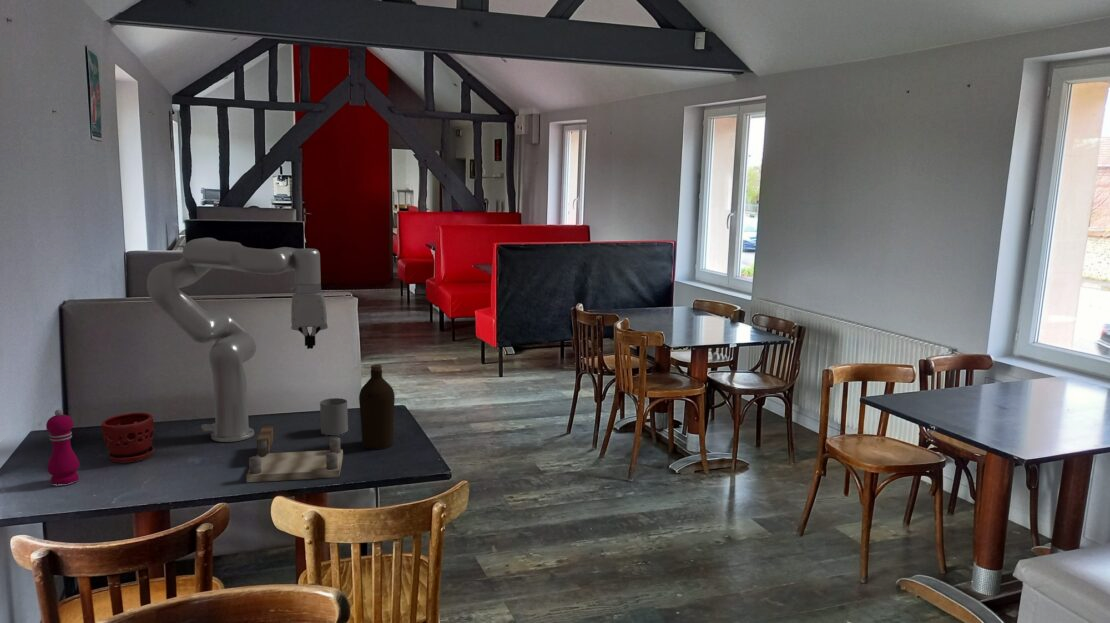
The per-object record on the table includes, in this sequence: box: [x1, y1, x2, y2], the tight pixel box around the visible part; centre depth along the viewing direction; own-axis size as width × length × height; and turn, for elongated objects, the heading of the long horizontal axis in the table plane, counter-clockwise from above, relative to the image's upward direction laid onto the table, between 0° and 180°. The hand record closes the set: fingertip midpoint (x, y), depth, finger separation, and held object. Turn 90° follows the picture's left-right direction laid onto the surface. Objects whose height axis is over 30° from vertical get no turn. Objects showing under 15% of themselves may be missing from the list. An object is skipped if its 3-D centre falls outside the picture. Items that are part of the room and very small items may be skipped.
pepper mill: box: [46, 408, 80, 485], centre depth 206 cm, size 7×7×20 cm
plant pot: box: [101, 412, 155, 464], centre depth 226 cm, size 13×13×12 cm
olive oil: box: [358, 364, 396, 450], centre depth 240 cm, size 11×11×25 cm
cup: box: [319, 397, 349, 436], centre depth 253 cm, size 8×8×10 cm
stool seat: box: [246, 436, 344, 483], centre depth 220 cm, size 24×17×6 cm
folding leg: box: [256, 425, 275, 455], centre depth 230 cm, size 15×3×4 cm, turn 14°
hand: (310, 347), depth 242 cm, fingers closed
